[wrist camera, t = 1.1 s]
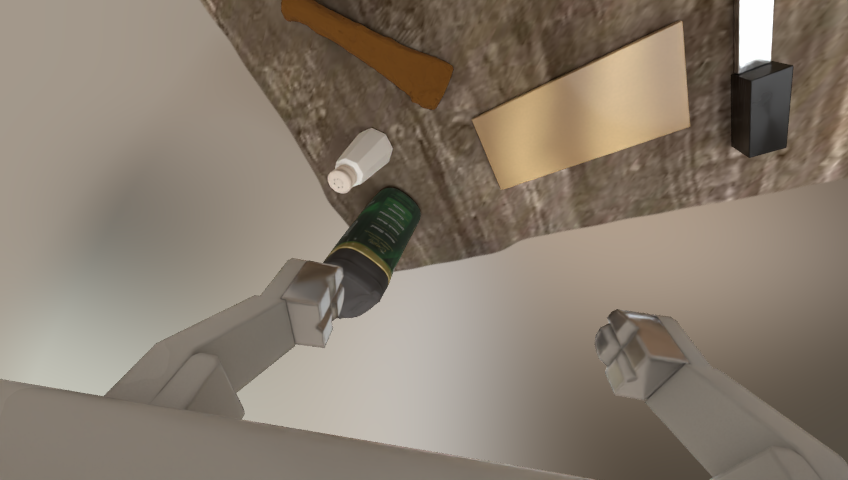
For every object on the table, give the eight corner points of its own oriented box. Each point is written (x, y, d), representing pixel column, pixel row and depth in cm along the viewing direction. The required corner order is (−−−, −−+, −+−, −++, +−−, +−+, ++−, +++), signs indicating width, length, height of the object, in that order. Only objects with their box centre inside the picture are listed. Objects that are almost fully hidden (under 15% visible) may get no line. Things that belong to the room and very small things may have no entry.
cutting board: (679, 19, 27) (682, 20, 26) (687, 124, 31) (690, 126, 31) (472, 118, 36) (471, 119, 35) (501, 187, 41) (501, 190, 40)
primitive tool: (455, 66, 33) (450, 72, 30) (435, 112, 37) (428, 121, 34) (296, -22, 32) (275, -25, 29) (291, 34, 35) (272, 37, 33)
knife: (729, -69, 23) (754, -78, 21) (776, -95, 22) (809, -108, 19) (731, 146, 31) (749, 158, 29) (765, 136, 30) (786, 147, 28)
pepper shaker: (401, 148, 41) (370, 185, 32) (378, 172, 44) (345, 212, 35) (370, 118, 39) (330, 149, 31) (349, 146, 42) (307, 181, 34)
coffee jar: (389, 176, 44) (327, 258, 30) (430, 210, 46) (390, 303, 31) (357, 214, 50) (293, 298, 35) (395, 243, 51) (348, 333, 37)
